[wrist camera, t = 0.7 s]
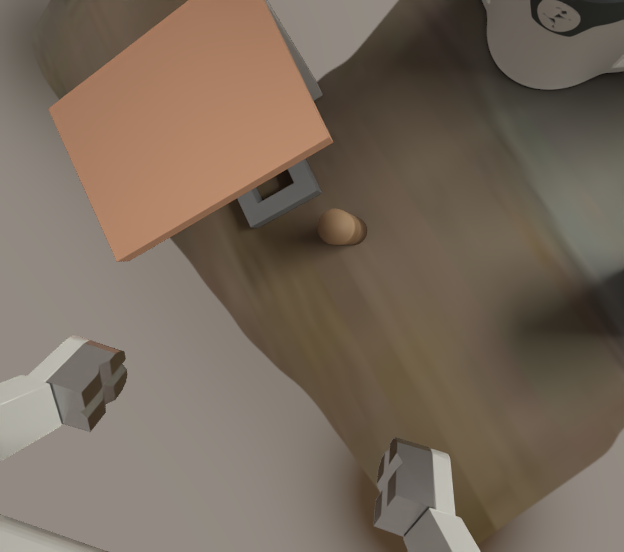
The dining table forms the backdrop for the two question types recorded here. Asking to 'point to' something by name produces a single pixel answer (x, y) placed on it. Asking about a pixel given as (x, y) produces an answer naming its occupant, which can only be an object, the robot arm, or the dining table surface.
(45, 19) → the dining table surface
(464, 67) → the dining table surface
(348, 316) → the dining table surface
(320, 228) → the peg
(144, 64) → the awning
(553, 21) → the robot arm
